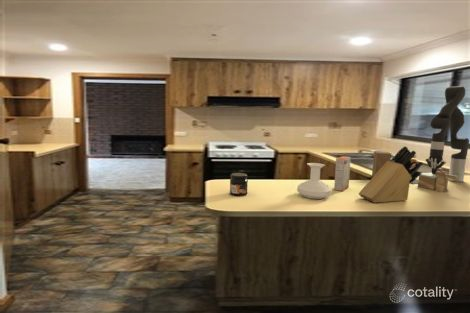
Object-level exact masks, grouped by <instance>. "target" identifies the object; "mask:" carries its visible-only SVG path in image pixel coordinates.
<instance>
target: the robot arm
mask: <svg viewBox="0 0 470 313" xmlns="http://www.w3.org/2000/svg"><path fill="white" fill-rule="evenodd" d="M465 96H466V88H465V87H464V86H462V85H459V86H448V87H446V88H445V91H444V97H445V103H446V104H444V105H443V106H442V107H441V108H440V111H439V113H438V114H437V115H435V116H433V118H432V120H431V121H430V124H429V125H430V127H431V128H432V129H434V130H437V129H438V130H440V131H438V132H434V133H432V135H431V136H432V137H431V143H430V148H429V149H430V150H429V156H428V158H426V159H425V161H426V164H427V166H428V167H429V168H431V172H430V173H432V174H435V173H436V171H437V169H438V168H442V167H443V166H444V165H445V164H447V162H446V161H445V160H443V159H444V158H443V156H444V150H445V140H446V134H447V132H448V130H449V134H450V135H449V139H450V140H449V141H450V148H451V149H454V150H459V152H456V153H453V154H451V157H450V165H449V172H448V173H449V174H450V175H455V176H458V177H457V180H453V179H448V181H451V182H457V183H459V182H460V183H461V182H462V183H463V182H464V178H465V172H466V171H465V170H466V161H467V156H468V150H469V146H470V139H469V138H468V137H458V136H457V135H458V133H459V131H460V130H461V129H462V128H463V126H464V125H465V115H464V113H463V111H462V110H461V109H460V108H459V107H458V106H459V104H460V103H462V101H463V99H464V97H465Z"/></svg>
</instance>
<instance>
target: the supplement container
mask: <svg viewBox="0 0 470 313" xmlns="http://www.w3.org/2000/svg"><path fill="white" fill-rule="evenodd" d="M229 194H230V195H231V196H233V195H234V196H233V197H245V196H247V195H248V174H247V173H243V172H233V173H231V174H230V179H229Z"/></svg>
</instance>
